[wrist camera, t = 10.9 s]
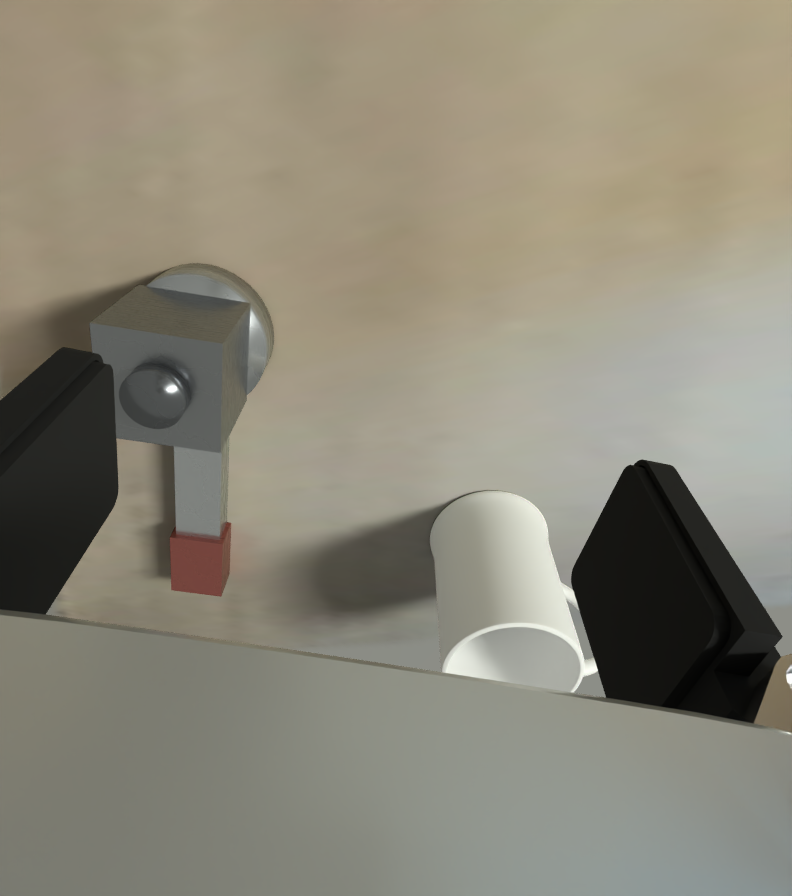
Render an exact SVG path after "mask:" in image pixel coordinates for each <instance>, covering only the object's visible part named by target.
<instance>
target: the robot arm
mask: <svg viewBox="0 0 792 896" xmlns="http://www.w3.org/2000/svg"><path fill="white" fill-rule="evenodd" d="M117 495H118V468H117V444H116V421H115V397H114V374H113V369H112V366H111V365H109V364H104V363H103V359H102V357H101V356H100V355H99V354H97V353H91V352H86V351H81V350H76V349H71V348H65V347H63V348H61V349H59V350H58V351H57V352H56V353H55V354H53V355H52V356H51V357H50V358H49V359H48V360H46V361H45V362H44V363H43V364H42V365H41V366H40V367H38V368H37V369H36V370H35V371H34V372H33V373H32V374H30V375H29V376H28V377H27V378H26V379H25V380H23V381H22V382H21V383H20V384H19V385H18V386H17V387H15V388H14V389H13V390H12V391H11V392H10V393H9V394H7V395H6V396H5V397H4V398H3V399H2V400H0V896H792V654H789V655H786V656H782V657H781V656H780V655H779V653H778V652H777V650H776V648H775V647H774V646H775V645H776V644H777V643H778V641H779V640H780V639H781V638H782V635H781V633H780V632H779V630H778V629H777V627H776V626H775V624H774V622H773V621H772V619H771V618H770V616H769V615H768V613H767V611H766V610H765V608H764V607H763V605H762V604H761V602H760V601H759V599H758V597H757V596H756V594H755V593H754V591H753V590H752V588H751V586H750V585H749V583H748V582H747V580H746V579H745V577H744V576H743V574H742V572H741V571H740V569H739V568H738V566H737V565H736V563H735V561H734V560H733V558H732V557H731V555H730V554H729V552H728V550H727V549H726V547H725V546H724V544H723V543H722V541H721V540H720V538H719V536H718V535H717V533H716V532H715V530H714V529H713V527H712V525H711V524H710V522H709V521H708V519H707V518H706V516H705V515H704V513H703V511H702V510H701V508H700V507H699V505H698V504H697V502H696V500H695V499H694V497H693V496H692V494H691V493H690V491H689V489H688V488H687V486H686V485H685V483H684V482H683V480H682V479H681V477H680V475H679V474H678V472H677V471H676V469H675V468H674V467H673V466H671V465H667V464H662V463H657V462H652V461H647V460H639V461H637V462H636V463H635V464H634V466H633V465H629V466H627V467H626V468H625V469H624V470H623V472H622V474H621V476H620V478H619V480H618V482H617V484H616V486H615V488H614V489H613V491H612V493H611V495H610V497H609V499H608V501H607V503H606V505H605V507H604V509H603V511H602V513H601V515H600V517H599V519H598V521H597V522H596V524H595V526H594V528H593V530H592V532H591V534H590V536H589V538H588V540H587V542H586V544H585V546H584V548H583V550H582V552H581V553H580V555H579V557H578V559H577V561H576V563H575V565H574V568H573V571H572V576H571V583H572V588H573V591H574V594H575V598H576V601H577V604H578V607H579V611H580V614H581V617H582V620H583V624H584V627H585V630H586V633H587V636H588V640H589V643H590V646H591V650H592V653H593V656H594V659H595V662H596V666H597V669H598V672H599V675H600V679H601V682H602V685H603V688H604V691H605V695H606V698H604V697H597V696H592V695H585V694H578V693H572V692H566V691H560V690H553V689H547V688H540V687H534V686H528V685H521V684H515V683H508V682H502V681H495V680H489V679H483V678H476V677H470V676H463V675H456V674H450V673H443V672H437V671H430V670H423V669H417V668H410V667H404V666H396V665H390V664H384V663H377V662H370V661H363V660H357V659H350V658H344V657H337V656H330V655H323V654H317V653H310V652H303V651H297V650H290V649H283V648H276V647H269V646H262V645H255V644H249V643H242V642H235V641H228V640H221V639H214V638H207V637H200V636H193V635H186V634H179V633H173V632H166V631H159V630H152V629H145V628H138V627H131V626H124V625H117V624H110V623H103V622H95V621H88V620H81V619H74V618H67V617H59V616H52V615H45V614H46V613H47V611H48V610H49V608H50V606H51V605H52V603H53V602H54V600H55V599H56V597H57V595H58V594H59V592H60V591H61V589H62V588H63V586H64V584H65V583H66V581H67V580H68V578H69V577H70V575H71V573H72V572H73V570H74V569H75V567H76V566H77V564H78V562H79V561H80V559H81V558H82V556H83V555H84V553H85V551H86V550H87V548H88V547H89V545H90V544H91V542H92V540H93V539H94V537H95V536H96V534H97V533H98V531H99V529H100V528H101V526H102V525H103V523H104V522H105V520H106V519H107V517H108V515H109V514H110V512H111V511H112V509H113V507H114V505H115V503H116V499H117Z"/></svg>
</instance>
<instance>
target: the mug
mask: <svg viewBox="0 0 792 896" xmlns="http://www.w3.org/2000/svg"><path fill="white" fill-rule="evenodd" d="M430 547H431V551H432V554H433V557H434V563H435V578H436V594H437V611H438V628H439V645H440V662H441V672H443V673H450V674H456V675H463V676H470V677H476V678H483V679H489V680H495V681H502V682H508V683H515V684H521V685H528V686H534V687H540V688H547V689H553V690H560V691H566V692H572V693H573V692H574V691H575V690H576V689H577V687H578V686H579V684H580V683H581V680H582V678H583V676H587V675H591V674H593V673H595V672H597V671H598V669H597V666H596V662H595V659H594V658H592V659H588V660H584V657H583V654H582V650H581V647H580V644H579V640H578V637H577V634H576V631H575V627H574V624H573V621H572V618H571V614H570V611H569V608H568V605H567V601H568V602H570V603H571V604H572V605H574V606H575V607H576V608H577V609H578V610H579V607H578V604H577V601H576V598H575V594H574V591H573V590H572V589H571V588H569V587H568V586H566V585H564V584H563V583H561V582H560V579H559V575H558V572H557V569H556V566H555V562H554V559H553V556H552V553H551V549H550V546H549V542H548V528H547V524H546V521H545V519H544V517H543V515H542V514H541V512H540V511H539V510H538V509H537V507H536V506H534V505H533V504H532V503H531V502H529V501H528V500H526V499H525V498H523V497H521V496H518V495H516V494H512V493H509V492H503V491H482V492H476V493H472V494H469V495H466V496H464V497H461V498H459V499H457V500H456V501H454V502H452V503H451V504H450V505H448V506H447V507H446V508H445V509H444V510H443V511H442V512H441V513H440V514H439V516H438V517H437V518H436V520H435V522H434V524H433V526H432V529H431V534H430ZM566 600H567V601H566Z"/></svg>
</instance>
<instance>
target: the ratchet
mask: <svg viewBox="0 0 792 896" xmlns="http://www.w3.org/2000/svg"><path fill="white" fill-rule="evenodd" d="M146 286H149V287H155V288H162V289H168V290H174V291H180V292H186V293H192V294H198V295H205V296H211V297H217V298H223V299H229V300H235V301H241V302H248V303H251V309H250V332H249V355H248V378H247V395H248V394H249V393H250V392H251V391H252V390H253V389H254V387H255V386H256V385H257V383H258V381H259V380H260V378H261V376H262V374H263V372H264V369H265V367H266V365H267V363H268V361H269V359H270V357H271V353H272V350H273V344H274V331H273V324H272V321H271V317H270V314H269V312H268V310H267V308H266V306H265V304H264V302H263V301H262V299H261V298H260V296H259V295H258V294H257V292H256V291H255V290H254V289H253V288H252V287H251V286H250V285H249V284H248V283H246V282H245V281H244V280H243V279H241V278H240V277H238V276H237V275H235V274H233V273H231V272H229V271H227V270H225V269H223V268H220V267H217V266H213V265H209V264H200V263H193V264H184V265H179V266H176V267H173V268H171V269H169V270H167V271H165V272H163V273H162V274H160V275H159V276H158V277H156V278H155V279H154V280H153V281H151V282H150V283H149V284H148V285H146ZM228 467H229V437H228V439H227V441H226V443H225V445H224V447H223V449H222V451H221V453H216V452H209V451H202V450H195V449H188V448H182V447H175V446H174V471H175V511H176V526H175V528H174V530H173V532H172V534H171V536H170V559H171V589H172V590H174V591H182V592H190V593H198V594H206V595H213V596H222V593H223V590H224V587H225V585H226V582H227V579H228V576H229V569H230V540H231V523H228V522H227V502H228Z"/></svg>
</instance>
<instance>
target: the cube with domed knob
mask: <svg viewBox="0 0 792 896" xmlns="http://www.w3.org/2000/svg"><path fill="white" fill-rule="evenodd" d="M250 309H251V303H248V302H241V301H235V300H229V299H223V298H217V297H211V296H205V295H198V294H192V293H186V292H180V291H174V290H168V289H162V288H155V287H149V286H143V285H138V286H136V287H135V288H134V289H133V290H131V291H130V292H129V293H127V294H126V295H125V296H124V297H122V298H121V299H120V300H118V301H117V302H116V303H114V304H113V305H112V306H111V307H109V308H108V309H107V310H105V311H104V312H103V313H102V314H100V315H99V316H98V317H96V318H95V319H94V320H93V321H91V322H90V323H89V324H90V334H91V344H92V353H97V354H99V355H100V356H101V357H102V359H103V363H104V364H109V365H111V366H112V369H113V374H114V397H115V421H116V438H119V439H126V440H133V441H140V442H147V443H154V444H161V445H168V446H175V447H182V448H188V449H195V450H202V451H209V452H216V453H221V451H222V449H223V447H224V445H225V443H226V441H227V439H228V437H229V435H230V433H231V431H232V429H233V427H234V425H235V423H236V421H237V419H238V417H239V415H240V413H241V411H242V409H243V407H244V404H245V402H246V400H247V378H248V355H249V332H250Z"/></svg>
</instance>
